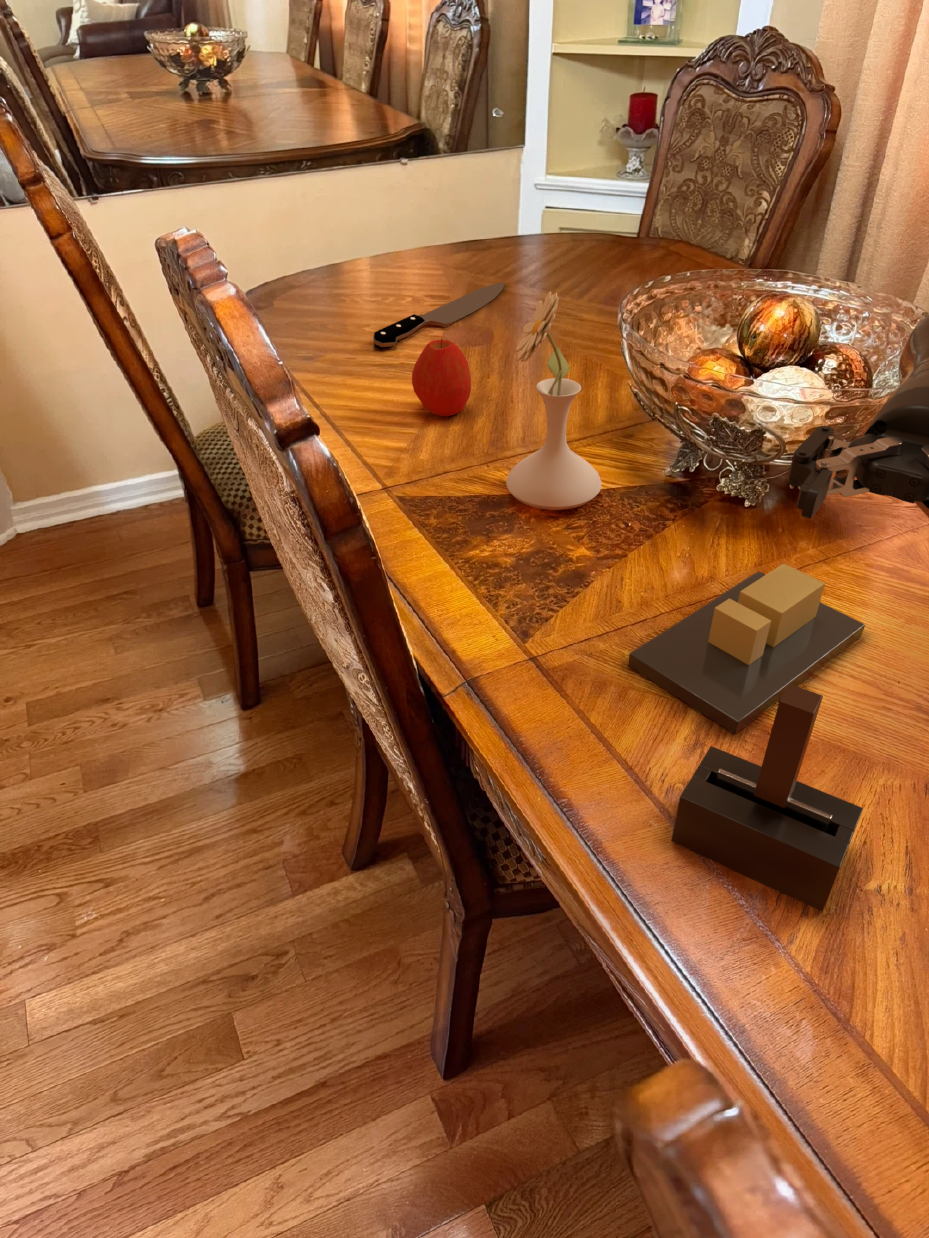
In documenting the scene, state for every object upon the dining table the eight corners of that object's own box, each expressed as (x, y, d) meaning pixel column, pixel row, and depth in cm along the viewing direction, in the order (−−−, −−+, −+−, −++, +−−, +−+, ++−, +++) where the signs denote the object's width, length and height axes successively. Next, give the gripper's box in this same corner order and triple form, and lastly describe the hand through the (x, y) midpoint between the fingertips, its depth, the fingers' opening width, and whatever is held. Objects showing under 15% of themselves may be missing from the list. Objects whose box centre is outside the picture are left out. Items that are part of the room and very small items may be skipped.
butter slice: (722, 632, 84) (729, 598, 81) (763, 655, 81) (771, 620, 79) (707, 641, 83) (714, 607, 80) (748, 665, 80) (756, 630, 77)
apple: (404, 418, 125) (399, 343, 119) (430, 396, 131) (427, 324, 125) (457, 428, 123) (455, 352, 116) (481, 405, 128) (481, 332, 122)
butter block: (775, 596, 88) (783, 562, 86) (815, 617, 85) (825, 583, 83) (732, 625, 85) (739, 591, 82) (773, 647, 82) (782, 613, 79)
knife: (711, 815, 68) (745, 667, 59) (816, 861, 65) (870, 712, 56) (701, 832, 67) (735, 684, 58) (807, 881, 63) (862, 731, 54)
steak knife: (520, 290, 171) (522, 278, 170) (395, 357, 144) (395, 343, 143) (497, 283, 173) (498, 271, 172) (369, 347, 146) (369, 334, 145)
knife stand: (701, 789, 70) (710, 745, 67) (846, 852, 65) (863, 807, 62) (670, 841, 66) (679, 796, 63) (822, 912, 61) (840, 867, 58)
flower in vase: (524, 466, 114) (529, 263, 98) (611, 481, 110) (631, 274, 95) (487, 515, 104) (486, 300, 89) (581, 534, 100) (597, 313, 85)
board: (755, 582, 93) (758, 570, 92) (861, 636, 85) (865, 624, 84) (627, 665, 82) (629, 653, 81) (735, 734, 75) (738, 722, 74)
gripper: (844, 366, 71) (779, 447, 60) (1045, 407, 64) (1011, 505, 54) (822, 451, 75) (757, 540, 65) (1007, 497, 69) (969, 603, 58)
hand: (873, 524), depth 59 cm, fingers open, 8 cm apart
